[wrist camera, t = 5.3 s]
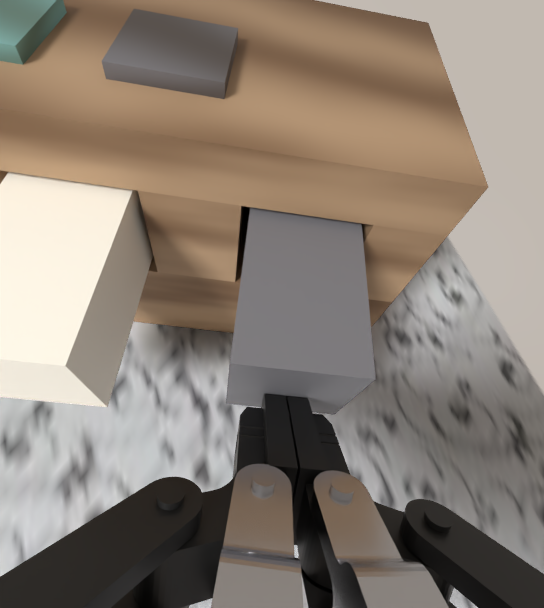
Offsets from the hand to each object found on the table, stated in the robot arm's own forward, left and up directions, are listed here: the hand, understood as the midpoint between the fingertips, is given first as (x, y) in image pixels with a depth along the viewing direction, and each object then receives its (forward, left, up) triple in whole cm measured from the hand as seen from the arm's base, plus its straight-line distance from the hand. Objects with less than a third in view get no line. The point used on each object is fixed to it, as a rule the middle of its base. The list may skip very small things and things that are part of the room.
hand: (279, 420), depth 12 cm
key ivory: (0, +9, -1) cm, 9 cm away
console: (+5, +13, -6) cm, 15 cm away
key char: (+5, +3, -1) cm, 6 cm away
